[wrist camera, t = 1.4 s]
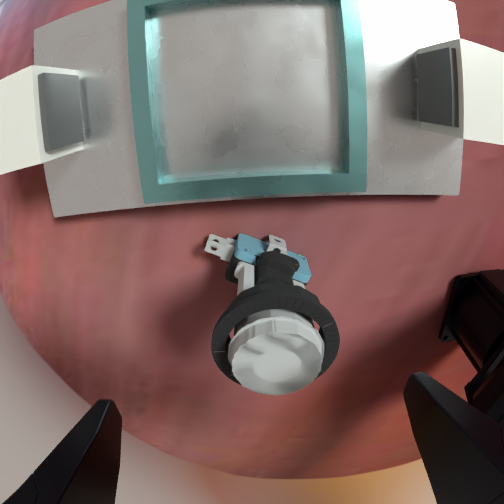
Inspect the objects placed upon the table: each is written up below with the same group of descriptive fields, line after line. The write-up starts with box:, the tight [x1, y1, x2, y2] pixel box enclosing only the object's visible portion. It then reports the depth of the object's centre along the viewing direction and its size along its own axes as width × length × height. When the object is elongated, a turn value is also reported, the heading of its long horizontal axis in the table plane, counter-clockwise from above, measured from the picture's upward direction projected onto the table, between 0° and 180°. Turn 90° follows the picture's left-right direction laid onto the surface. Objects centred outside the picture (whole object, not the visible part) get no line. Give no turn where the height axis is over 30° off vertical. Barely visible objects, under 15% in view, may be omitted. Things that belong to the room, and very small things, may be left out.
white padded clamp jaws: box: [0, 38, 504, 175], centre depth 13 cm, size 5×26×4 cm, turn 93°
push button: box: [205, 233, 340, 395], centre depth 17 cm, size 7×5×10 cm
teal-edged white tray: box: [34, 0, 463, 217], centre depth 15 cm, size 13×26×3 cm, turn 93°
